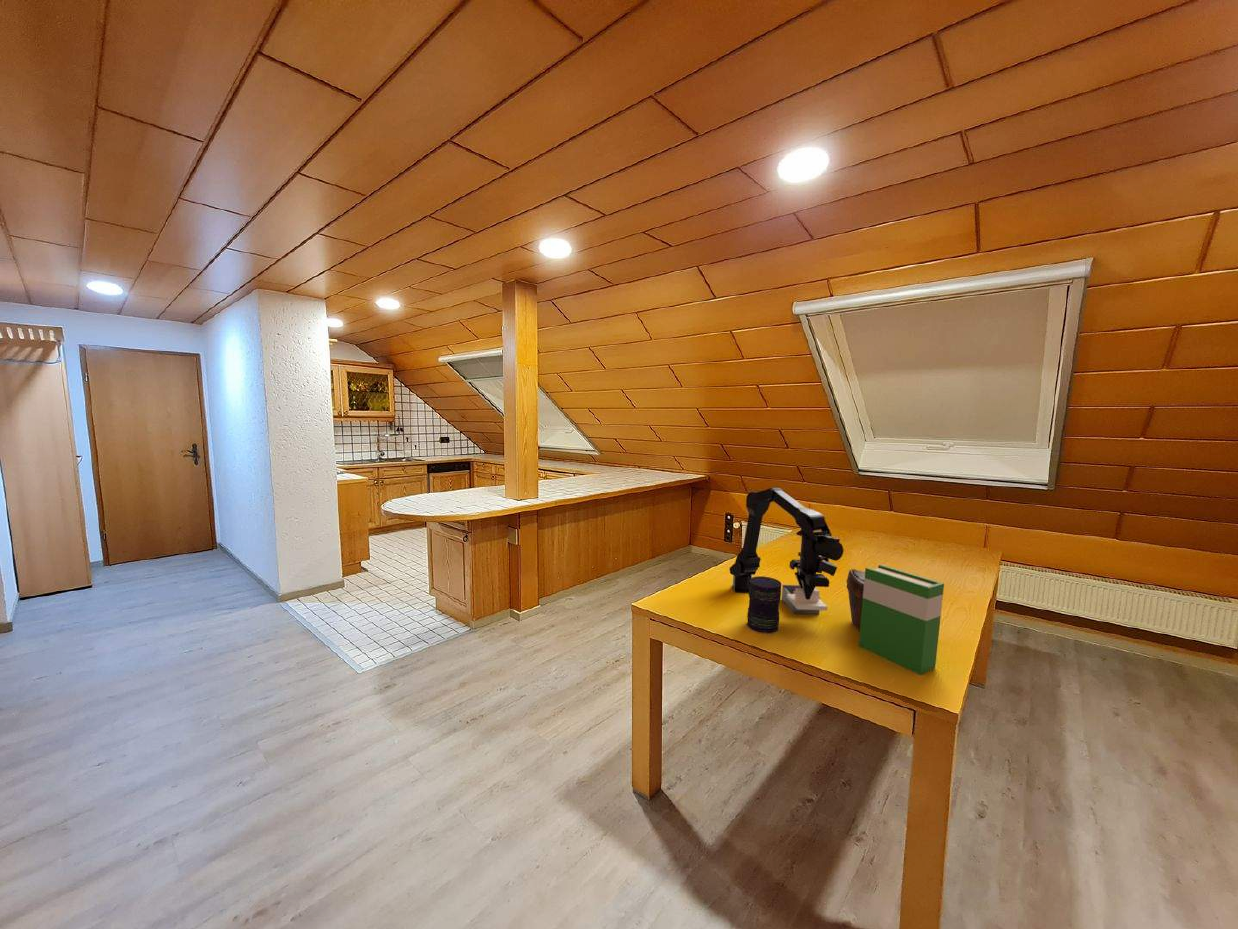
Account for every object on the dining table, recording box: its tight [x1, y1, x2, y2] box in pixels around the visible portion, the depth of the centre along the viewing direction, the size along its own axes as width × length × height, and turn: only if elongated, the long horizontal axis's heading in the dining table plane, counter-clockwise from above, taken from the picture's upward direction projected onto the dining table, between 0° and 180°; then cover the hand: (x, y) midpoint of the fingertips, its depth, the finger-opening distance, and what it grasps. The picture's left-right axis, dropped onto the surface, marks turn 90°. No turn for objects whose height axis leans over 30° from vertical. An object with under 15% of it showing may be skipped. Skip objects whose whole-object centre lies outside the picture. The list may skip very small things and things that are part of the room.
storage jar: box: [746, 575, 782, 634], centre depth 154 cm, size 10×10×15 cm
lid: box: [787, 588, 829, 611], centre depth 158 cm, size 10×10×5 cm
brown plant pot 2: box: [846, 568, 865, 630], centre depth 156 cm, size 18×20×18 cm
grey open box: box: [781, 584, 821, 615], centre depth 172 cm, size 9×12×6 cm
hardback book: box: [858, 564, 945, 676], centre depth 137 cm, size 18×7×24 cm, turn 30°
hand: (806, 597), depth 158 cm, fingers closed on lid
